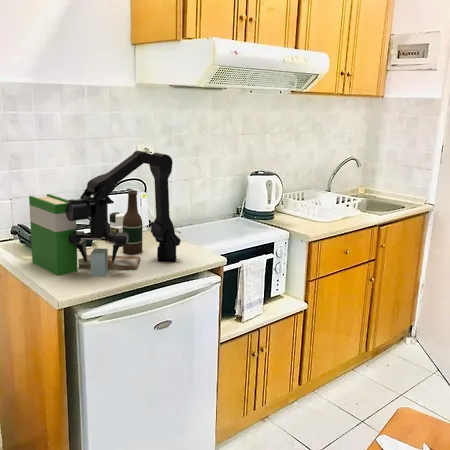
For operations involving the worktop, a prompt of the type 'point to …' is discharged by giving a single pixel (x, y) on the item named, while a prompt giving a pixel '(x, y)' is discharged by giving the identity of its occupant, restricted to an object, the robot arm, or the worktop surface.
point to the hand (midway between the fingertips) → (99, 262)
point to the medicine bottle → (116, 224)
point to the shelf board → (119, 262)
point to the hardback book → (52, 235)
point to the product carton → (99, 262)
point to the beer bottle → (132, 226)
